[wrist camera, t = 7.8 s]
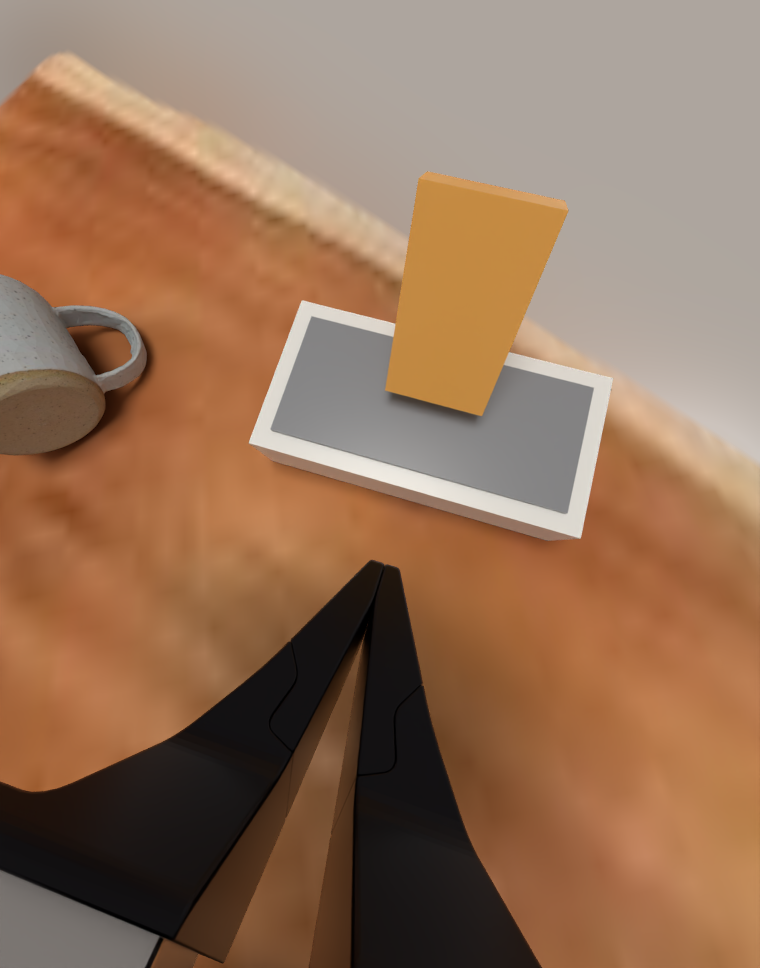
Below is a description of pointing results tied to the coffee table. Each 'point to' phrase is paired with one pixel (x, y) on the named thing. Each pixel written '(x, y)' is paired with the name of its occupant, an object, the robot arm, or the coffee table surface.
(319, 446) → the breaker housing
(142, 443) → the coffee table surface
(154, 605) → the coffee table surface
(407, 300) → the lever
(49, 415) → the ceramic mug
